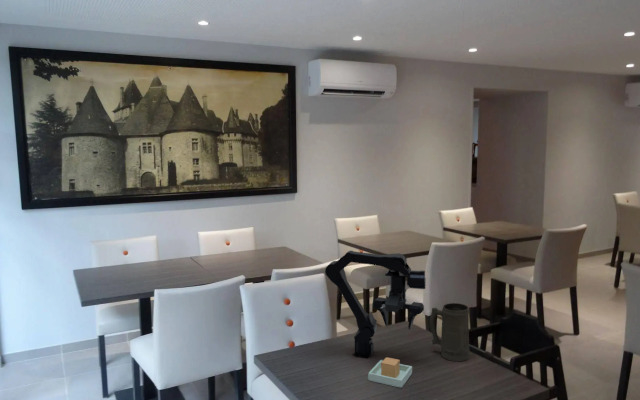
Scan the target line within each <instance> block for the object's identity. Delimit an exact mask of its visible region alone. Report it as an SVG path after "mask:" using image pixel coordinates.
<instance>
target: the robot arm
mask: <svg viewBox="0 0 640 400" xmlns="http://www.w3.org/2000/svg"><path fill="white" fill-rule="evenodd" d="M351 263H355V264H363V265H371V266H380V267H382V268H385V269H387V270H388V271H386V272H385V274H384V275H385V277H389V278H390V280H389V281H390V282H389V283H390V289H389V293H388V297H380V296H378V297H377V298H375V299H374V300H373V301H372V308H373V309H375V310H376V311H378V312H379V313H380V315H381V317H382V319H383V323H384V325H385V326H388V324H389V323H388V322H389V312H391V313H392V312H393V313H398V312H399V310H404V309H405V310H408V311H409V313H408V330H411V328H412V325H413V323H414V321H415V318H416V317H417V316H418V315H421V314H422V313H423V312H424V311H425V310H424V309H425V305H424V304H423V302H417V301H413V302H412V303H407V299H406V294H407V293H406V292H407V287H406V286H408V288H410V289H416V290H417V289H418V290H426V284H427V283H426V282H427V280H426V279H427V278H426V271H425V270H412V268H411V267H410V266H409V264H408V263H407V258H406V257H405V256H404V254H402V253H388V254H377V253H369V252H368V253H367V252H361V251H360V252H359V251H354V250H348V251H347V252H345V254H344V255H343V256H342V257H340V258H339V259H337V260H333V261H331V262H330V263H329V264H328V265H327V266H326V267H325V270H324V273H325V275H326V277H327V279H328V280H330V282H332V284H334V285H335V286H336V288H338V290H339V292H340V294H341V295H342V297H343V298H344V300H345V302H346V304H347V305H348V308H349V309H350V310H351V312H352V314H353V316H354V317H355V319H356V320H355V321H356V324H357V325H356V326H357V328H358V329H357V330H356V333H355V334H354V337H353V338H354V352H353V353H352V356H356V357H360V358H366V359H369V358H370V357H371V356H372V355H373V353H374V352H375V351H374V342H373V338H372V337H373V336H374V335H375V333H376V331H377V327H378V324H377V322H378V321H377V319H376V318H375V317H374V315H373V313H372V312H370V313H368V312H367V311H366V310H365V309H364V307H363V306H362V303H361V302H360V301H359V299H358V297H357V295H356V294H355V292H354V290H353V288H352V287H351V285H350V283H349V281H348V279H347V275H346V271H345V268H346V267H347V266H348V265H349V264H351Z"/></svg>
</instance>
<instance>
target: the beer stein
mask: <svg viewBox="0 0 640 400" xmlns="http://www.w3.org/2000/svg"><path fill="white" fill-rule="evenodd" d="M469 314H470V309H469V306H467V305H465V304H463V303H456V302H451V303H450V302H449V303H445V304H443V305H442V309H441V310H440V309H439V308H437V307H431V314H430V317H429V319H428V320H429V322H428V323H429V329H430V331H431V334H432V337H433V338H432V340H431V343H432V345H440V348H441V351H440V355H441V357H442V358H444V359H446V360H448V361H453V362H463V361H468V360H469V359H470V356H471V355H470V337H469V336H470V332H469ZM437 316H441V318H442V319H441V337H440V338H439V336H438V333H437V329H436V317H437Z"/></svg>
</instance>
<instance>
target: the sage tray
mask: <svg viewBox="0 0 640 400" xmlns="http://www.w3.org/2000/svg"><path fill="white" fill-rule="evenodd" d="M383 360H384V359H380V360H379V361H378V362H377V363H376V364H375V365H374V367H373V368H372V369H370V371H369V372H368V373H367V374H368V375H367V380H368V381H369V382H374V383H378V384H379V383H380V384H383V385H388V386H393V387H397V388H401V389H402V388H403V386H404V385H405V384H406V382H407V381H408V379H409V378H410V377H411V375H412V374H413V366H412V365H406V364H402V363H400V374H399V375H398V376H397V377H396V378H392V377H388V376H383V375H381V362H382V361H383Z"/></svg>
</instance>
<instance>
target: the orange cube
mask: <svg viewBox="0 0 640 400" xmlns="http://www.w3.org/2000/svg"><path fill="white" fill-rule="evenodd" d="M382 360H383V361H382V362H381V375H383V376H388V377H392V378H396V377H397V376H398V375H399V374H400V364H401V363H400V362H401V361H400V359H396V358H392V357H385V358H384V359H382Z"/></svg>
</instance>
